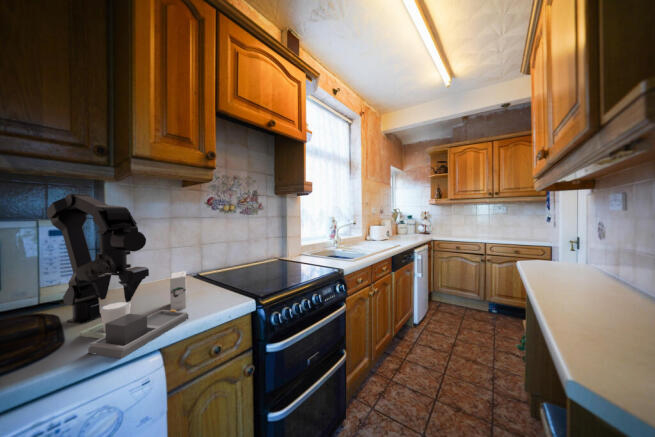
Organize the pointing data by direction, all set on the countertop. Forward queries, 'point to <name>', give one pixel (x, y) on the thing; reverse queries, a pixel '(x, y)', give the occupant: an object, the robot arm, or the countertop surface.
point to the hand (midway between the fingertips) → (115, 300)
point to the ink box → (178, 290)
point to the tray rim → (90, 332)
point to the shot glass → (114, 311)
